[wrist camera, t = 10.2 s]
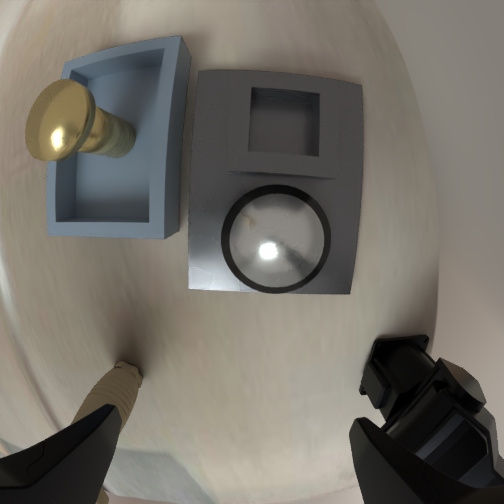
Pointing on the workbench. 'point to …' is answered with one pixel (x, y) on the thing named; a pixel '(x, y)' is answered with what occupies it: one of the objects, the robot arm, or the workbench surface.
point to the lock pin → (74, 125)
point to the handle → (113, 398)
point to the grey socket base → (274, 183)
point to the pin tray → (141, 155)
